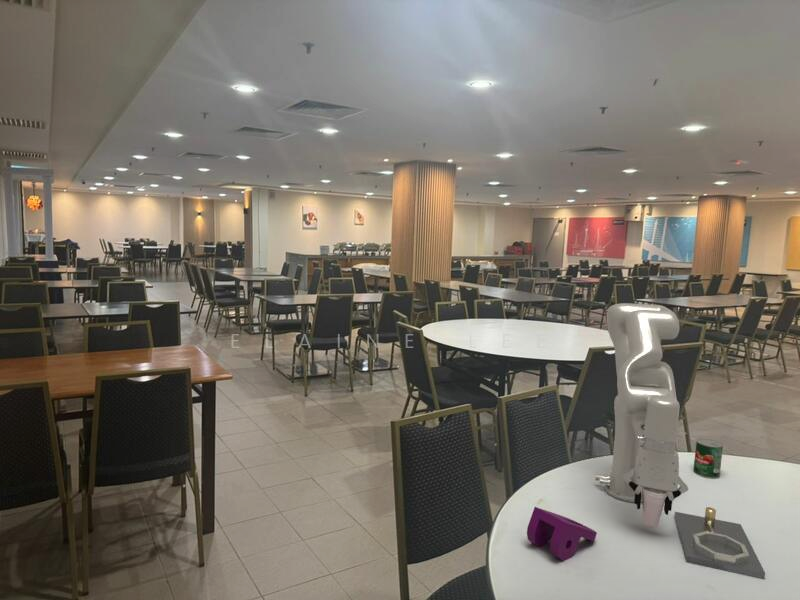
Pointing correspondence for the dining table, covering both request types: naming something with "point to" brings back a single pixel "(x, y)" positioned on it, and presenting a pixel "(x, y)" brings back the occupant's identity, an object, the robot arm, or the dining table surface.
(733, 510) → the dining table surface
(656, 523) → the smoothie
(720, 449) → the canned tomato
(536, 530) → the mounting bracket
